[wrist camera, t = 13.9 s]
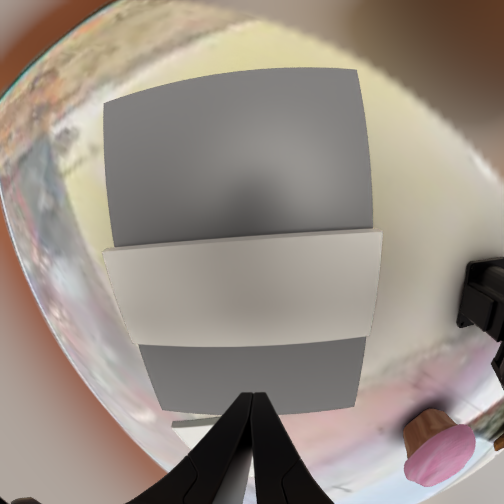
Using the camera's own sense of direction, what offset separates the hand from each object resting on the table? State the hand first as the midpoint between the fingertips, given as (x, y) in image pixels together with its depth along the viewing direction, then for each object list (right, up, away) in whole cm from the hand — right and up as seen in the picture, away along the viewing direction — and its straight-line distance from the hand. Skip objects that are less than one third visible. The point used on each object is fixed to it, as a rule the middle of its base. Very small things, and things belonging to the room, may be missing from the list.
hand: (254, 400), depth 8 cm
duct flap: (-1, +3, +6) cm, 7 cm away
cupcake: (+21, -15, +15) cm, 30 cm away
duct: (0, +5, +11) cm, 12 cm away
